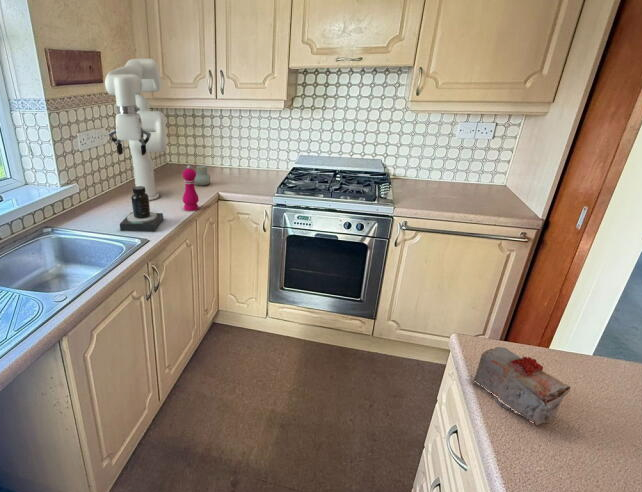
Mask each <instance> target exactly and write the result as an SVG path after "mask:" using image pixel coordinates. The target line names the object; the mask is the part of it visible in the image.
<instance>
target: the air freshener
mask: <svg viewBox="0 0 642 492" xmlns="http://www.w3.org/2000/svg"><path fill="white" fill-rule="evenodd" d="M195 169H196V170H195V172H196V177H195V183H194V185H195V186H196V185H197V186H200V187H201V186H202V187H203V186H207V185H209V184H210V183H211V174H210V173H208V166H207V165H203V164H201V165H197V166H196V167H195Z"/></svg>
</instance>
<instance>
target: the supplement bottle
mask: <svg viewBox="0 0 642 492" xmlns="http://www.w3.org/2000/svg"><path fill="white" fill-rule="evenodd" d="M145 192H146V190H145V187H143V186H137V187H136V186H134V187H132V193H133V194H132V195H131V198H130V199H131V206H132V212H133V214H134V217H135V218H147V217H149V216H150V212H151V207H150V200H149V197H148V194H146V193H145Z"/></svg>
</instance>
